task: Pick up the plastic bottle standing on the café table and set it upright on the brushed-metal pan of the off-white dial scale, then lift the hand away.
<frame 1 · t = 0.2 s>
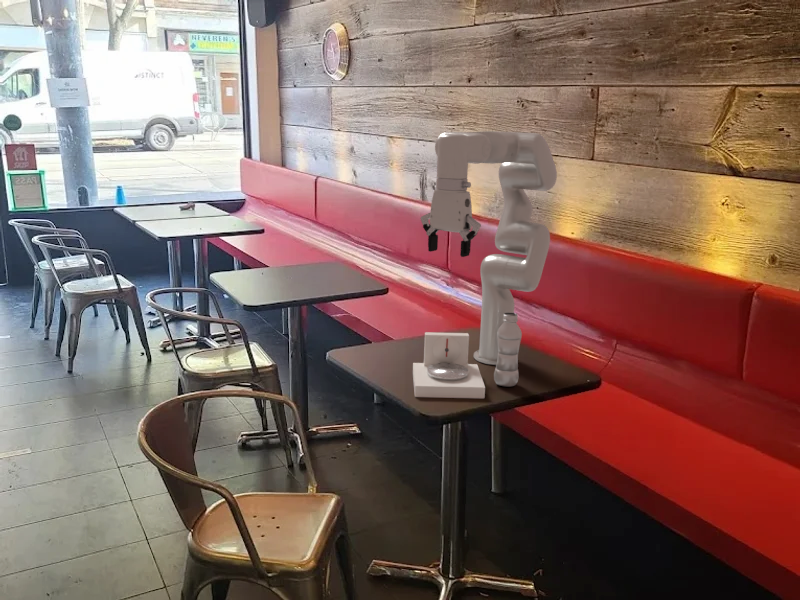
hand: (448, 253, 189), 37 cm above the table, tool pointing down, fingers open, 9 cm apart
plastic bottle: (505, 385, 203), on the table
scale pan: (447, 371, 201), point 4 cm above the table, slide at -0.1 cm
scale: (447, 385, 202), on the table
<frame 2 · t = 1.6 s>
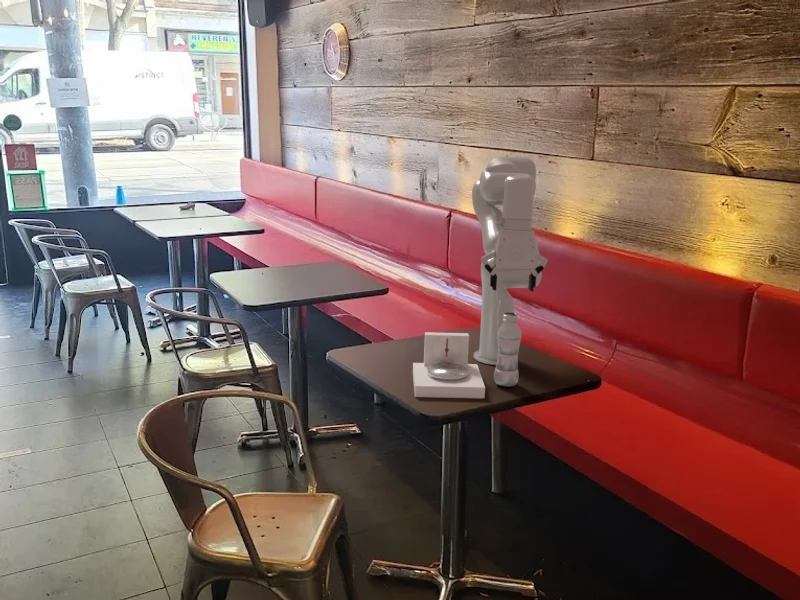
hand: (512, 289, 196), 27 cm above the table, tool pointing down, fingers open, 9 cm apart
nothing on the table moved.
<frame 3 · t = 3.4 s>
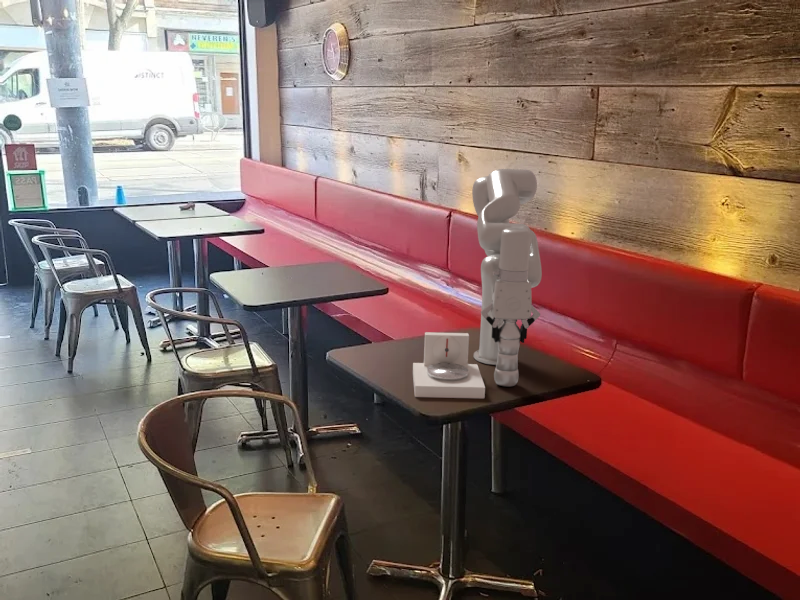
hand: (508, 340, 200), 13 cm above the table, tool pointing down, fingers closed on plastic bottle, 6 cm apart
plastic bottle: (505, 385, 203), on the table, touching gripper
everything else where it was.
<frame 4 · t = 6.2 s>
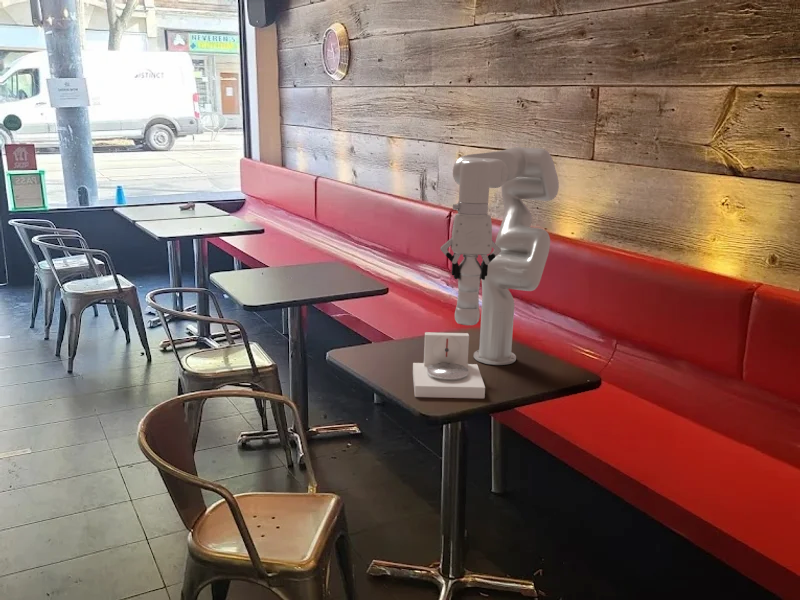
hand: (469, 277, 195), 30 cm above the table, tool pointing down, fingers closed on plastic bottle, 6 cm apart
plastic bottle: (466, 325, 198), point 17 cm above the table, touching gripper
everything else where it was.
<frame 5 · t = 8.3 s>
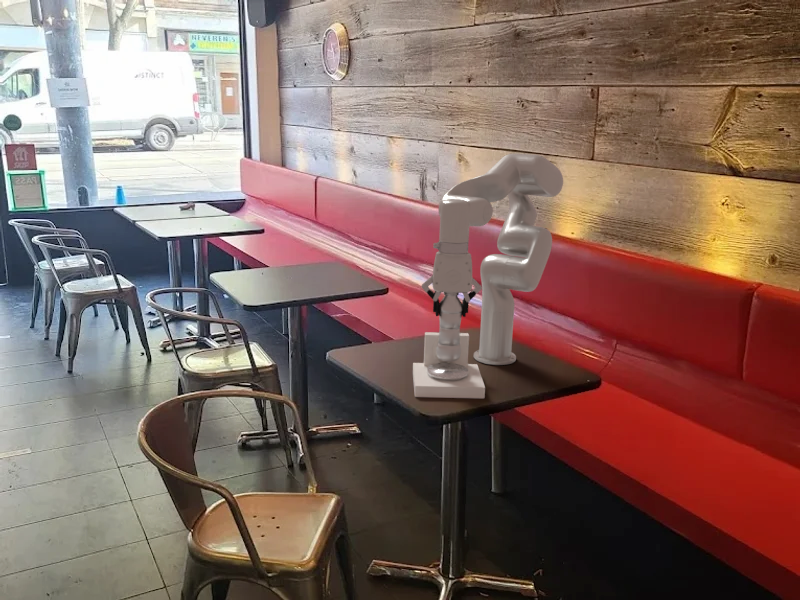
hand: (450, 314, 197), 20 cm above the table, tool pointing down, fingers closed on plastic bottle, 6 cm apart
plastic bottle: (448, 361, 200), point 7 cm above the table, touching gripper
everything else where it was.
when the fingers open (18 cm above the table, at t = 9.5 s): plastic bottle drops 1 cm, resting on scale pan.
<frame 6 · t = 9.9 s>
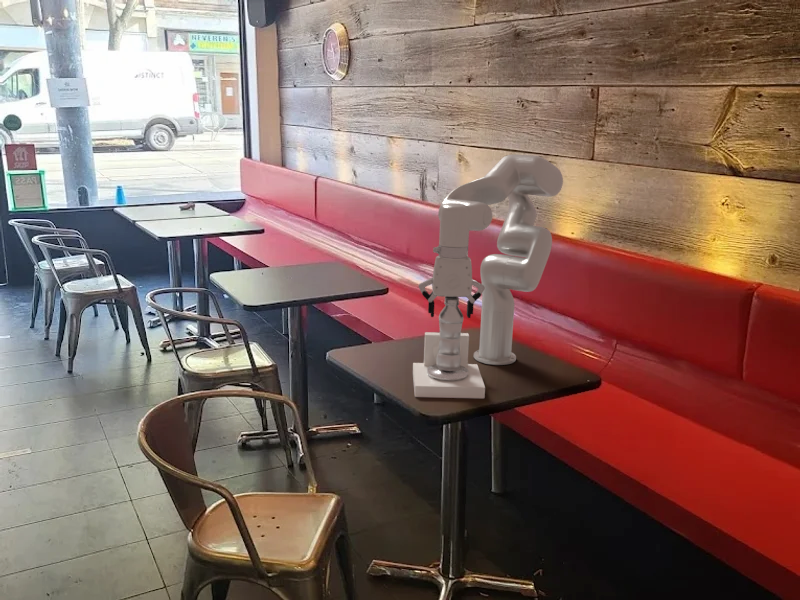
hand: (450, 316, 197), 19 cm above the table, tool pointing down, fingers open, 9 cm apart
plastic bottle: (448, 370, 201), point 4 cm above the table, touching scale pan
scale pan: (447, 371, 201), point 4 cm above the table, slide at -0.3 cm, touching plastic bottle
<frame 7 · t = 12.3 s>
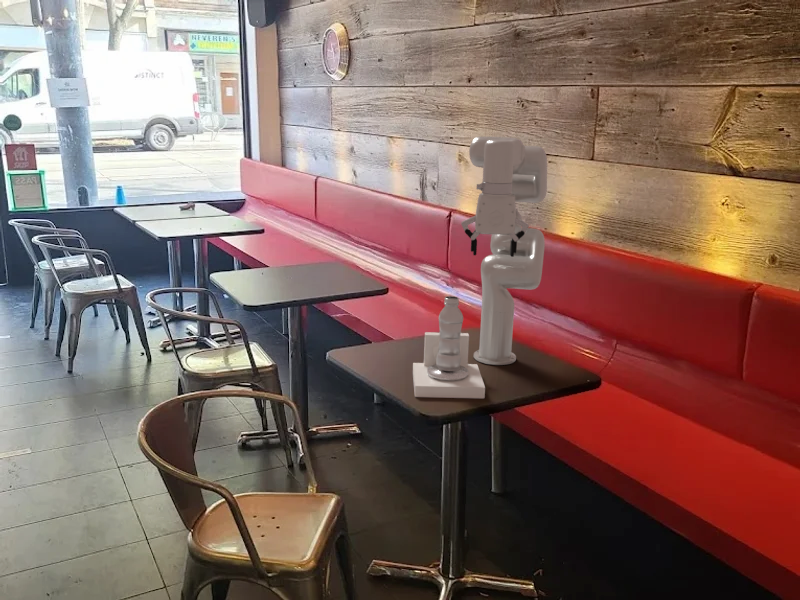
hand: (493, 255, 195), 36 cm above the table, tool pointing down, fingers open, 9 cm apart
nothing on the table moved.
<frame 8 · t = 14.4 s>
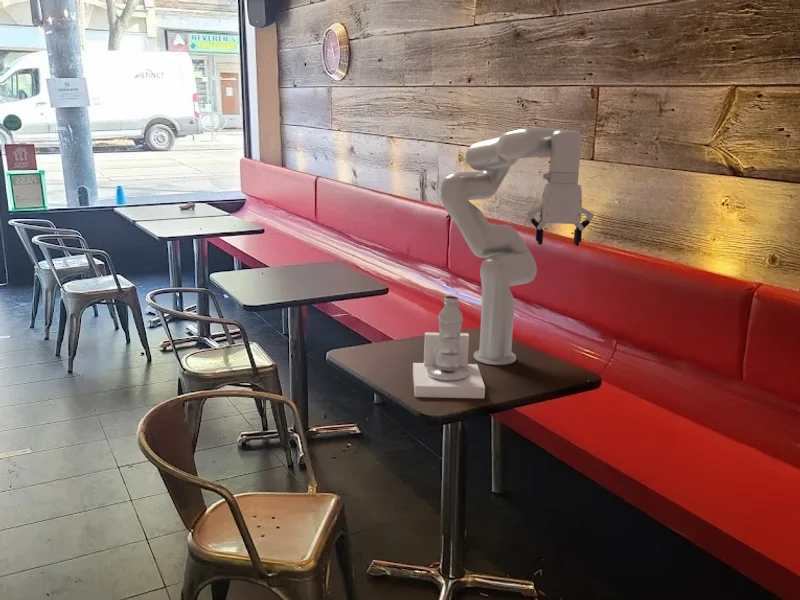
hand: (557, 244, 198), 38 cm above the table, tool pointing down, fingers open, 9 cm apart
nothing on the table moved.
at the end: plastic bottle 0.1 cm off-centre on the scale, point 4.1 cm above the scale's base; plastic bottle tilted 0°; the gripper is holding nothing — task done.
